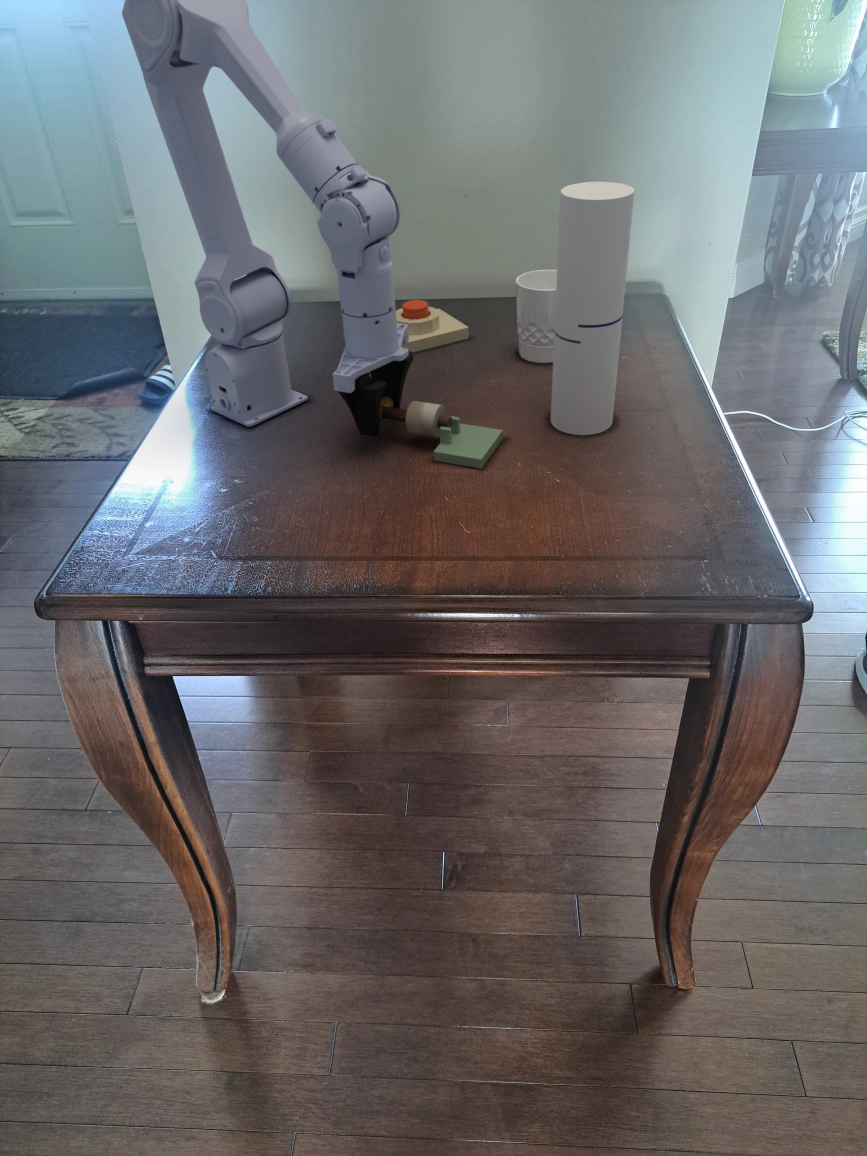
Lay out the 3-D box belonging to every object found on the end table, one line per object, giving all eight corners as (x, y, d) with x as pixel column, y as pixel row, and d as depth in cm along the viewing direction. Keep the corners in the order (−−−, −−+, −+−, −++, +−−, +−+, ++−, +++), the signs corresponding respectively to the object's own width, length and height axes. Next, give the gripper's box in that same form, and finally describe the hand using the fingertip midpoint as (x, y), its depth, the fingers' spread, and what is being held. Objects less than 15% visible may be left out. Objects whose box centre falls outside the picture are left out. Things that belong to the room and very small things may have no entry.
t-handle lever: (364, 434, 94) (361, 405, 92) (382, 415, 98) (380, 387, 95) (442, 447, 91) (440, 417, 89) (458, 427, 94) (457, 398, 92)
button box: (393, 357, 114) (391, 333, 112) (366, 336, 120) (364, 313, 118) (469, 338, 118) (468, 314, 116) (439, 319, 124) (438, 296, 122)
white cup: (572, 342, 115) (576, 268, 109) (574, 365, 109) (578, 289, 103) (515, 342, 116) (516, 269, 110) (513, 365, 110) (514, 290, 104)
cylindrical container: (611, 436, 93) (633, 199, 78) (547, 433, 95) (557, 199, 79) (613, 408, 99) (634, 181, 83) (553, 405, 100) (563, 181, 85)
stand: (433, 460, 91) (432, 436, 89) (457, 431, 96) (456, 408, 94) (481, 469, 89) (481, 444, 87) (503, 439, 94) (503, 415, 92)
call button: (410, 323, 115) (409, 311, 114) (398, 315, 118) (398, 303, 117) (433, 317, 116) (432, 305, 115) (421, 310, 119) (420, 298, 118)
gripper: (371, 337, 81) (383, 459, 89) (430, 288, 91) (436, 402, 99) (308, 329, 83) (325, 449, 91) (373, 282, 93) (383, 394, 102)
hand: (379, 424), depth 95 cm, fingers closed on t-handle lever, 5 cm apart
